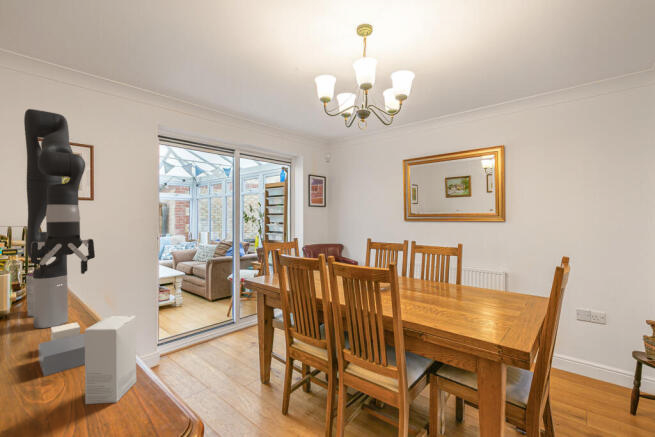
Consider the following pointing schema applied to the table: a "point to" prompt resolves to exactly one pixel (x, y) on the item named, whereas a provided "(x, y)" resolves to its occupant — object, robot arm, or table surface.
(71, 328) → the cream block
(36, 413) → the table surface
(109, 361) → the skincare box
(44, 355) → the slate block
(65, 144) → the robot arm
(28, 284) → the candy bar box
